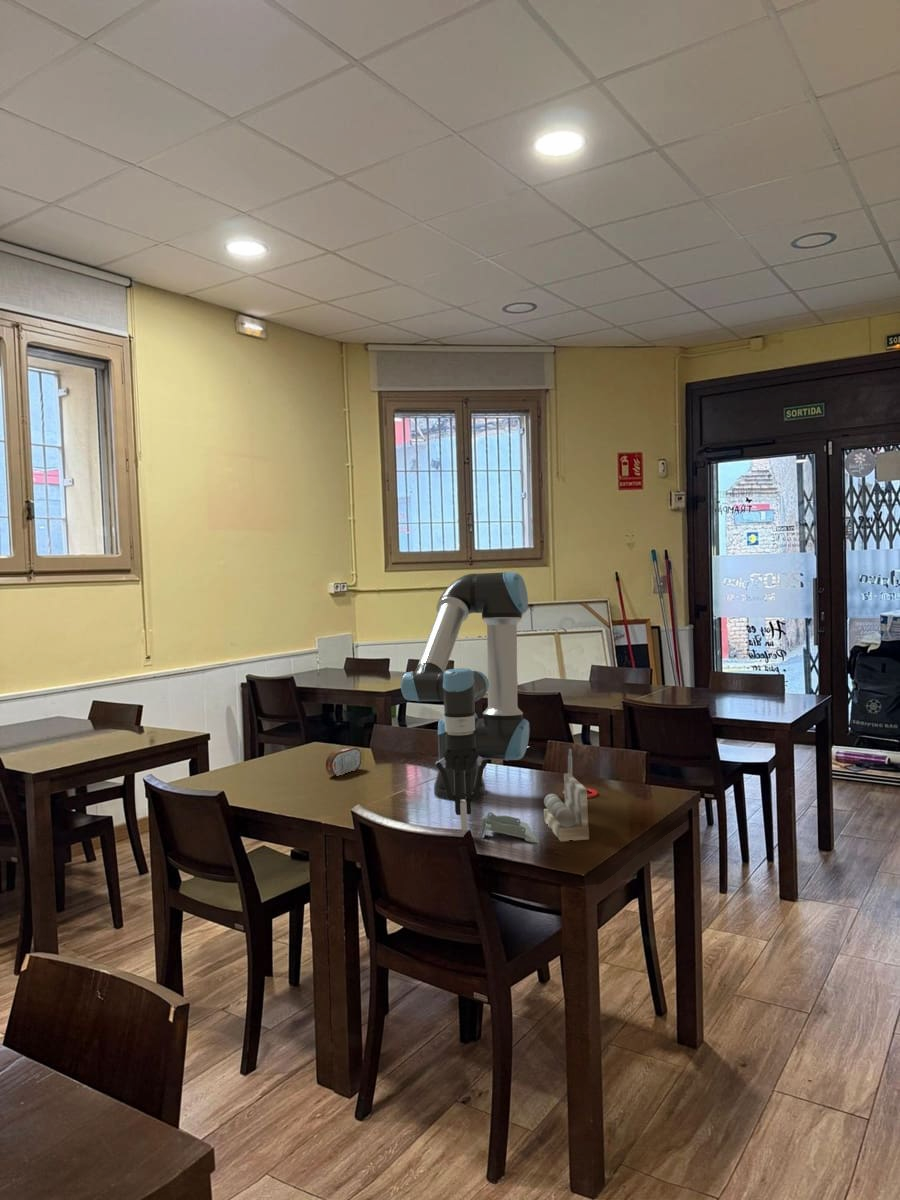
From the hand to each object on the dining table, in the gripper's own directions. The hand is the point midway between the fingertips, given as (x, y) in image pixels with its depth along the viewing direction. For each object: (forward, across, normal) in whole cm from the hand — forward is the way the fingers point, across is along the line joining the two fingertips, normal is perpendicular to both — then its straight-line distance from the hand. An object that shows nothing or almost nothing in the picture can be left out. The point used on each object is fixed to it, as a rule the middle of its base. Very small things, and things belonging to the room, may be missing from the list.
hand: (463, 827), depth 202 cm
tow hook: (+3, +38, +30) cm, 49 cm away
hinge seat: (+2, +26, 0) cm, 26 cm away
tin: (+3, -30, +73) cm, 79 cm away
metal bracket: (+3, +11, -1) cm, 11 cm away
